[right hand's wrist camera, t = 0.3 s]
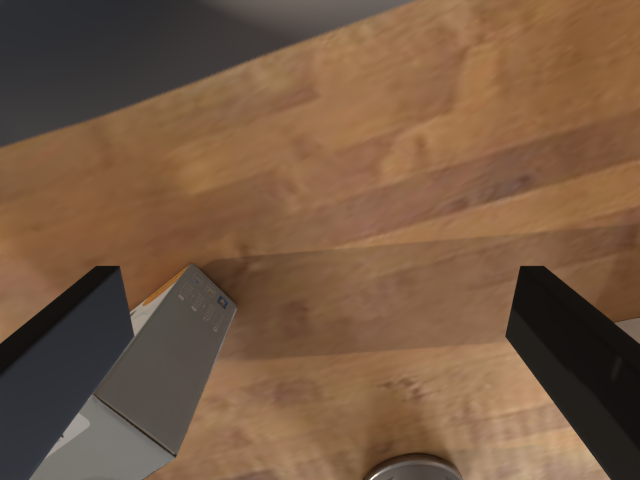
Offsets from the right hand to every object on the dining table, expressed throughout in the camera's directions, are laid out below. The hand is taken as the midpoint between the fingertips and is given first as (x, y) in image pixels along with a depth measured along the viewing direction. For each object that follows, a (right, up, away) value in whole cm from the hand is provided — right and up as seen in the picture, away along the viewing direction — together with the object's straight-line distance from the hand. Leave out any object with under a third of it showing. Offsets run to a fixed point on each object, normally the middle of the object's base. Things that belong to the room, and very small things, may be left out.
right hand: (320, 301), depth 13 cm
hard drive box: (-18, -7, +33) cm, 38 cm away
